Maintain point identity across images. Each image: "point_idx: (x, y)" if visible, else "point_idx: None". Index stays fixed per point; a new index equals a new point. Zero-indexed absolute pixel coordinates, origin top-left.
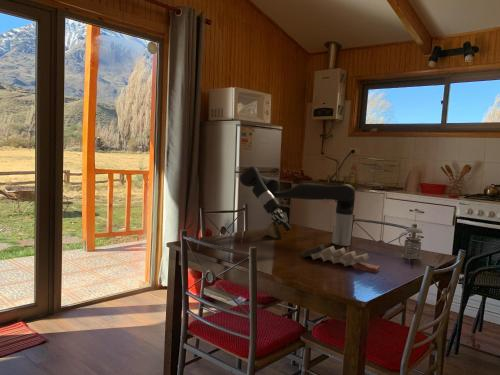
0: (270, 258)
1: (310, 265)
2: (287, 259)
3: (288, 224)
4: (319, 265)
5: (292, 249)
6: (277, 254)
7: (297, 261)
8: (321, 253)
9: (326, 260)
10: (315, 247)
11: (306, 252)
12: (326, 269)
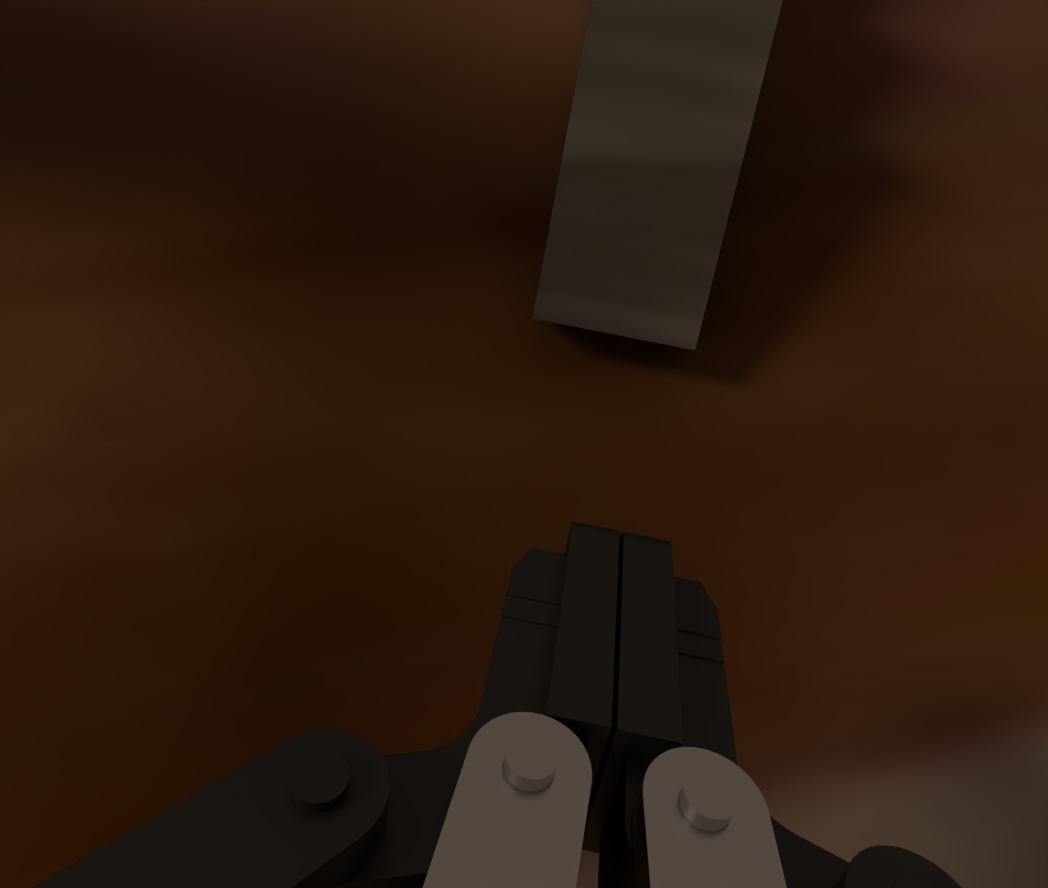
0: (1035, 777)
1: (985, 202)
2: (912, 523)
3: (568, 637)
4: (910, 113)
5: (279, 585)
6: (735, 736)
7: (917, 377)
8: None
9: None
10: (751, 75)
11: (713, 264)
12: (1017, 29)
